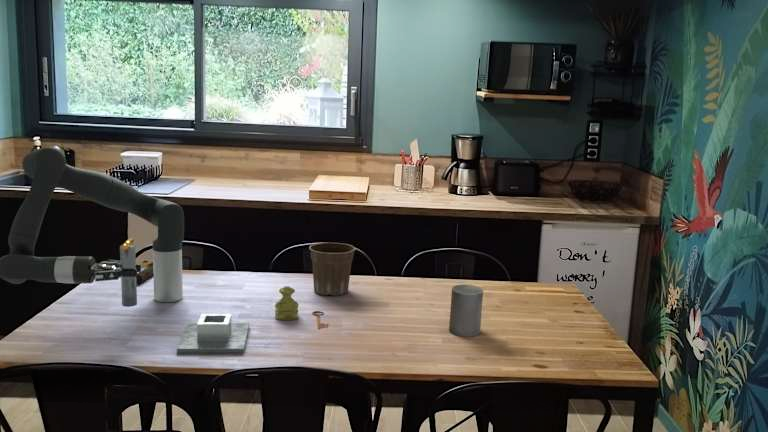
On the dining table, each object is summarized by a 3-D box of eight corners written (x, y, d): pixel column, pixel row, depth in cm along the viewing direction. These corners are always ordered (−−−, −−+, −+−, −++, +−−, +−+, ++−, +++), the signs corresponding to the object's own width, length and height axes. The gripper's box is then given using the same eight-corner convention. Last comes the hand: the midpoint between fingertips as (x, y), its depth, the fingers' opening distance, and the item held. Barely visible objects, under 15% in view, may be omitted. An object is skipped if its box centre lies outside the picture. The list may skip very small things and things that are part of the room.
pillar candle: (443, 327, 228) (446, 281, 225) (470, 324, 232) (473, 279, 229) (458, 339, 220) (461, 291, 216) (486, 335, 223) (489, 288, 220)
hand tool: (141, 285, 259) (141, 272, 259) (131, 284, 260) (130, 271, 259) (166, 271, 278) (166, 259, 277) (157, 270, 278) (156, 258, 278)
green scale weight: (288, 311, 238) (289, 282, 236) (303, 317, 233) (303, 287, 231) (270, 316, 233) (270, 286, 231) (284, 322, 227) (284, 292, 225)
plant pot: (328, 281, 272) (329, 239, 268) (363, 290, 262) (364, 247, 259) (299, 291, 259) (299, 247, 255) (334, 301, 249) (335, 255, 246)
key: (331, 330, 224) (329, 313, 239) (331, 328, 224) (329, 311, 238) (312, 329, 223) (311, 312, 238) (312, 326, 223) (312, 309, 238)
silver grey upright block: (126, 299, 210) (123, 237, 207) (140, 299, 211) (138, 237, 207) (118, 309, 202) (115, 245, 198) (133, 309, 202) (131, 245, 199)
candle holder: (188, 328, 220) (188, 307, 219) (249, 327, 222) (249, 307, 220) (176, 353, 200) (176, 331, 199) (243, 353, 202) (243, 331, 201)
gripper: (66, 263, 195) (132, 264, 197) (82, 250, 209) (144, 250, 211) (67, 290, 197) (133, 291, 199) (83, 275, 211) (144, 275, 212)
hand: (138, 270), depth 205 cm, fingers closed on silver grey upright block, 4 cm apart
